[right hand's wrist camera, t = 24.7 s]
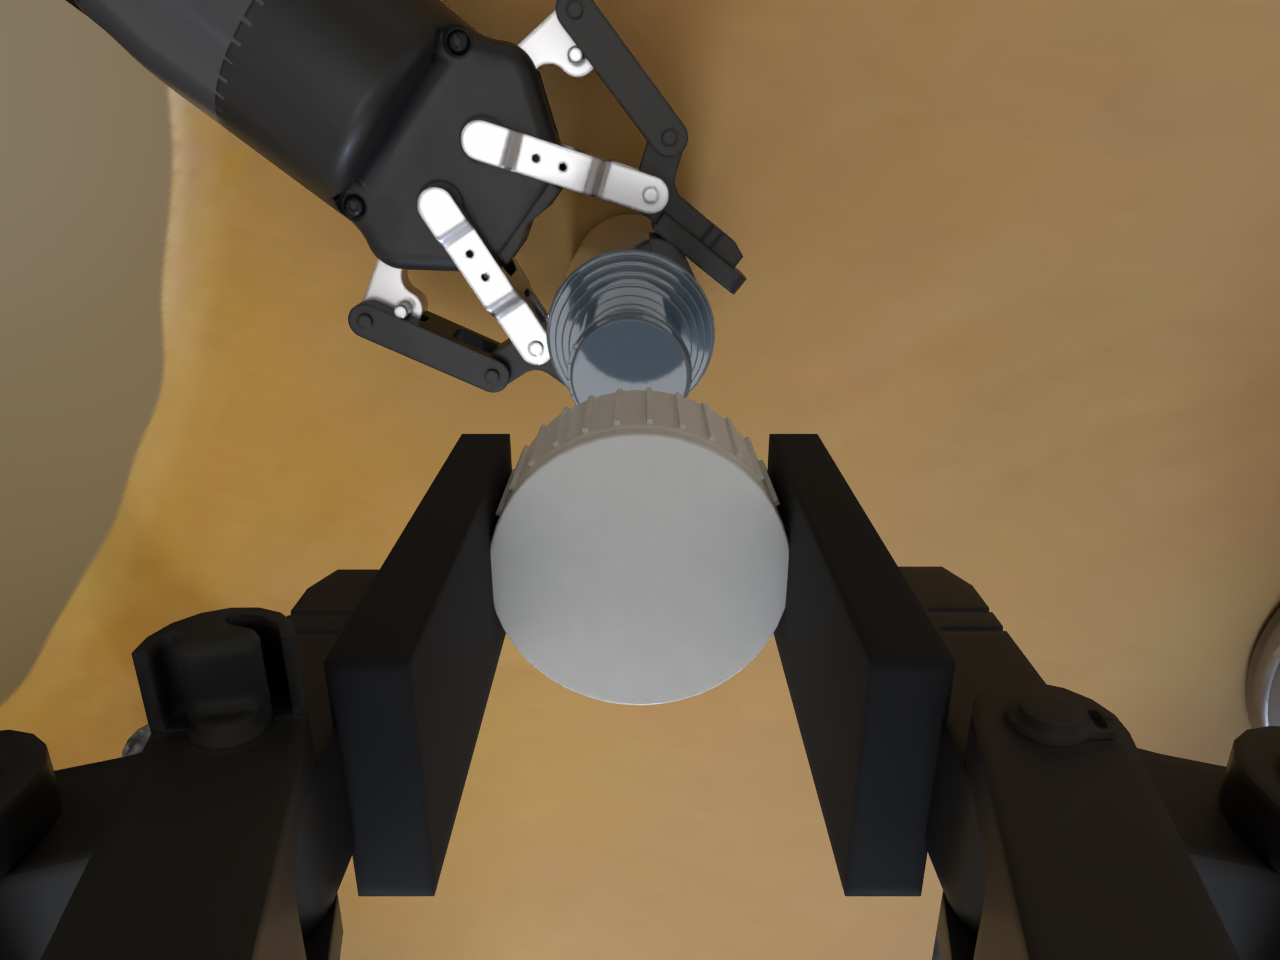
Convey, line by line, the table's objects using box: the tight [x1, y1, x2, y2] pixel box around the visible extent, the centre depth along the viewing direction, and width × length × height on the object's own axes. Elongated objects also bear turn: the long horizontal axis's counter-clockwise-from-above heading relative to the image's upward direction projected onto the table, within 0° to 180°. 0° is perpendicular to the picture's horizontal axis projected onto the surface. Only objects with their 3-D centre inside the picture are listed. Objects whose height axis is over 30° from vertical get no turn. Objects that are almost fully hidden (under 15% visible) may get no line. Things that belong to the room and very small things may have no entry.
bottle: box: [546, 214, 715, 405], centre depth 29 cm, size 5×5×17 cm
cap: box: [490, 387, 789, 705], centre depth 13 cm, size 4×4×2 cm
